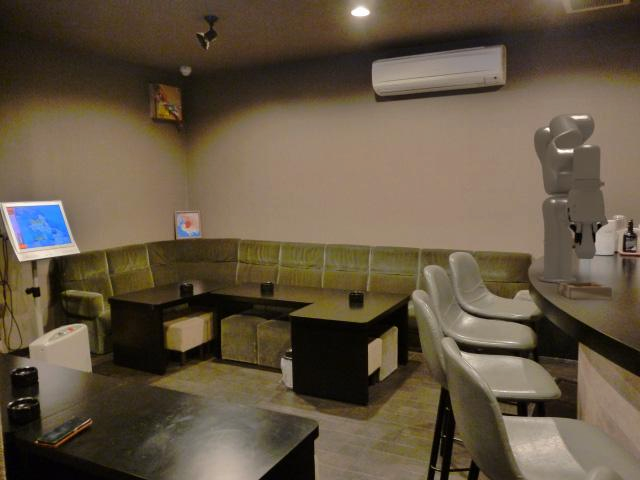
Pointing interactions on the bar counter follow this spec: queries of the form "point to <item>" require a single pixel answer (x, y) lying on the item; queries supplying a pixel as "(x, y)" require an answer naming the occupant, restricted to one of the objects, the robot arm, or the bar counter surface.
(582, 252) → the salt shaker
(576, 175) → the robot arm
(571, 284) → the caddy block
